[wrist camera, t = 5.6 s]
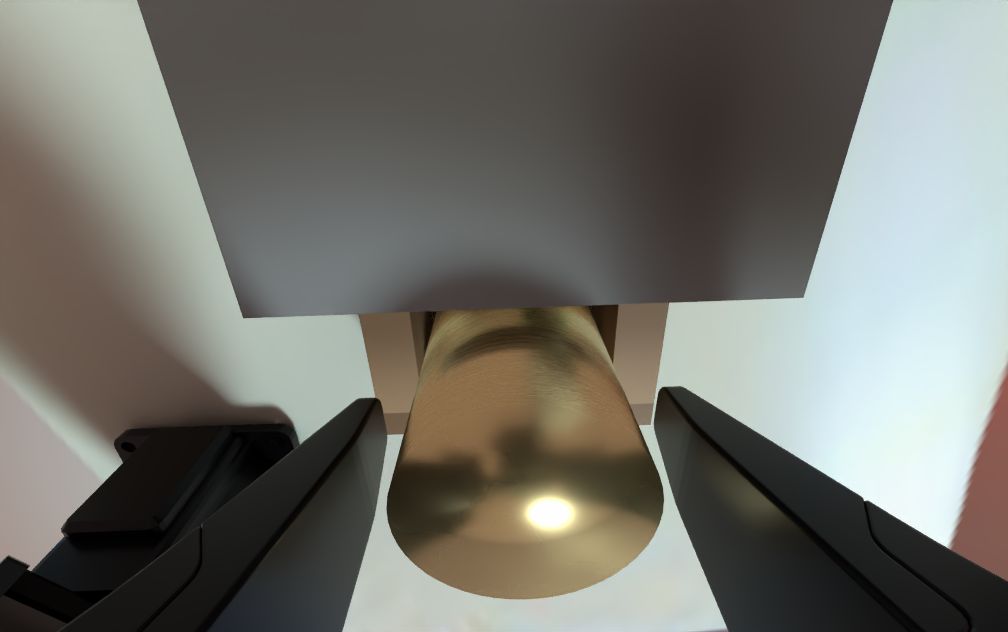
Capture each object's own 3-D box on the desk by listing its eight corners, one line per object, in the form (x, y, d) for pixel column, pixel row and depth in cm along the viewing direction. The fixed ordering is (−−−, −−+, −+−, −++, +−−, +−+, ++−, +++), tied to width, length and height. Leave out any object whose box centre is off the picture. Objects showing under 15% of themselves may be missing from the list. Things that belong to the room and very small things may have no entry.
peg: (573, 216, 14) (684, 402, 6) (568, 331, 15) (646, 595, 7) (442, 221, 14) (365, 412, 6) (452, 335, 15) (405, 603, 7)
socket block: (624, 368, 16) (720, 573, 9) (401, 376, 16) (334, 588, 9) (663, 20, 11) (917, -83, 4) (344, 31, 11) (117, -58, 4)
